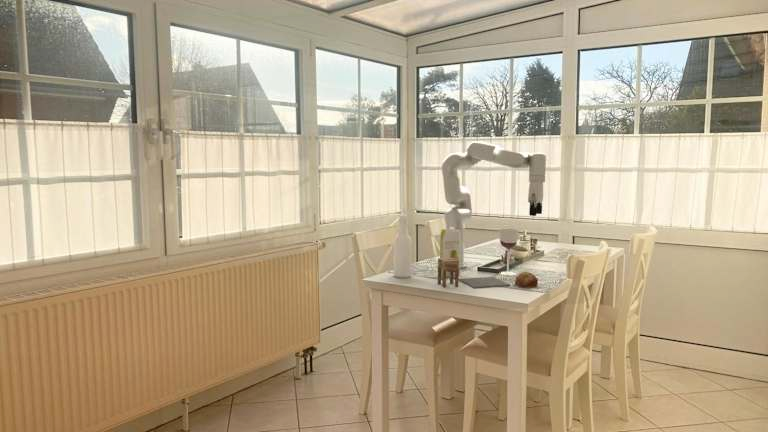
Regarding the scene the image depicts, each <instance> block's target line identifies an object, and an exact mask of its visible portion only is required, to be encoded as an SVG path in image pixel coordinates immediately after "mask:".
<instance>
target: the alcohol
mask: <svg viewBox="0 0 768 432" xmlns="http://www.w3.org/2000/svg"><path fill="white" fill-rule="evenodd" d="M407 219H408V215H406V214H399V215H398V229H397V230H398V231H397V234H396V235H395V237H394V239H393V275H394V277H396V278H401V279H403V278H404V279H405V278H410V277H411V276H412V267H413V264H412V263H413V262H412V260H413V259H412V257H413V252H412V250H413V247H412V245H413V241H412V237H411V236H410V234H409V231H408V220H407Z"/></svg>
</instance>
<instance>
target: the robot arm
mask: <svg viewBox="0 0 768 432" xmlns="http://www.w3.org/2000/svg"><path fill="white" fill-rule="evenodd" d="M481 161H486V162H491V163H494V164H497V165H501V166H503V167H509V168H513V169H527V168H528V169H529V170H528V172H529V173H528V183H529V186H528V196H527V202H528V203H529V211H528V212H529V216H533V217H534V216H535V217H536V216H537V215H539V214H540V215H541V214H543V201H544V183H545V182H546V166H547V156H546V153H543V152H534V153H533V152H532V153H530V152H517V151H511V150H507V149H504V148H501V146H499V145H496V144H491V143H488V142H486V141H479V140H478V141H474V140H473V141H471V142H470V143H469V144H468V145H467V147H466V151H465V152H455V153H454V152H453V153H450V154H448V155H447V156H446V157H445V158H444V159H443V161H442V165H441V173H442V177H443V178H442V179H443V190H444V199H445V202H446V203H447V204H449V205H452V206H453V205H454V206H453V207H451V208H448V209H447V210H446V211H445V214H444V225H445V229H446V230H449V228H450V227H453V228H455V229H458V230H460V232H461V268H460V269H464V268H467V264H466V263H464V257H465V230H464V229H465V228H464V226H463V224H468V223H469V222H470V221H471V219H472V218H473V217H472V216H473V213H472V212H473V211H472V210H473V209H472V199H471V193H470V191H469V190H468V188H467V187H465V186H463V185H461V181H460V175H459V173H458V170H467V169H469V168H472V167H473V166H476V165H477V164H478V163H480V162H481Z"/></svg>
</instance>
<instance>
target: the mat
mask: <svg viewBox="0 0 768 432" xmlns="http://www.w3.org/2000/svg"><path fill="white" fill-rule="evenodd" d="M458 282H461V283H462V284H463V283H464V284H465V285H467V286H469V287H471V288H473V289H484V288H499V287H510V286H511V284H510V283H508V282H505V281H504V280H501V279H499V278H497V277H494V276H484V277H483V276H481V277H468V278H467V277H466V278H459V281H458Z"/></svg>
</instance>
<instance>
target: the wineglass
mask: <svg viewBox="0 0 768 432" xmlns="http://www.w3.org/2000/svg"><path fill="white" fill-rule="evenodd" d="M519 232H520V231H519V229H513V228H500V229H499V230H498V234H499V235H498V236H499V242H500V245H501V246H502V247H504V248H505V249H506V250H507V255H506V256H507V257H506V260H507V261H506V271H500V272H501V273H500V272H499V274H500V275H502V276H514V275H517V273H516V272H513V271H509V269H510V268H509V267H510V265H509V263H510V249H513V248H514V247H516V246H517V243H518V240H519Z"/></svg>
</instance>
